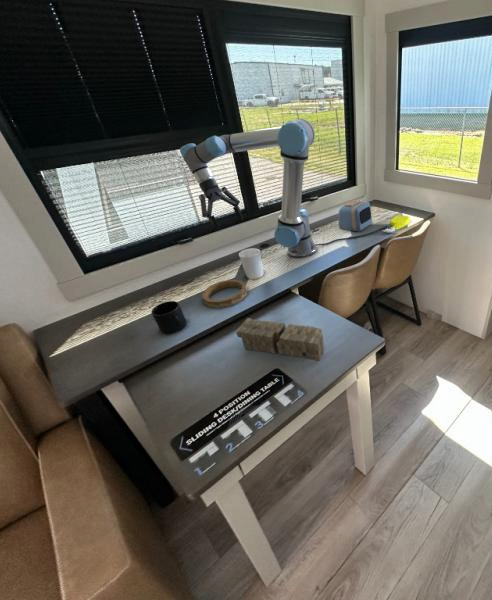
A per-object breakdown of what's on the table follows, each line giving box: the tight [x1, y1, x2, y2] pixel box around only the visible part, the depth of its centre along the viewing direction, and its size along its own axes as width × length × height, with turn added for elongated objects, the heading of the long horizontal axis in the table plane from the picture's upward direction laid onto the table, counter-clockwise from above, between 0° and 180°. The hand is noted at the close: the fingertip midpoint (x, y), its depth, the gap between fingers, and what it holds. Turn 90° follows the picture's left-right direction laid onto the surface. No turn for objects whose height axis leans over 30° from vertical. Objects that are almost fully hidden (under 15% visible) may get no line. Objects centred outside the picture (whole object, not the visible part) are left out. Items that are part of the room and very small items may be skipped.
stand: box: [202, 279, 248, 309], centre depth 138 cm, size 18×18×3 cm
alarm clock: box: [338, 199, 373, 232], centre depth 195 cm, size 16×16×16 cm
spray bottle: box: [382, 214, 411, 234], centre depth 194 cm, size 3×11×25 cm
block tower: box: [235, 317, 325, 361], centre depth 107 cm, size 8×8×29 cm
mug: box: [150, 300, 188, 335], centre depth 119 cm, size 9×12×9 cm
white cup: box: [238, 247, 265, 280], centre depth 151 cm, size 10×10×12 cm
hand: (230, 224), depth 150 cm, fingers open, 13 cm apart
